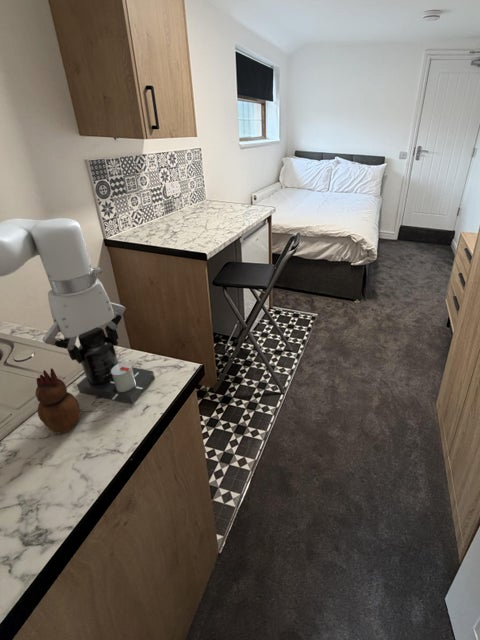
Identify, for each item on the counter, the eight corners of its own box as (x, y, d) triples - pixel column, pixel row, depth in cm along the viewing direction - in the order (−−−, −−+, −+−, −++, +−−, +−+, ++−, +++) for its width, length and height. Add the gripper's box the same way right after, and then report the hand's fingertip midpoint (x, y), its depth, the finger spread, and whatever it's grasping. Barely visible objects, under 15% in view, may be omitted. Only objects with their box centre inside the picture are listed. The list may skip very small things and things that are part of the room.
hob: (73, 398, 73) (70, 389, 72) (105, 369, 81) (103, 360, 80) (131, 411, 70) (129, 402, 69) (159, 379, 78) (157, 371, 77)
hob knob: (112, 390, 72) (106, 371, 70) (125, 377, 75) (119, 359, 73) (127, 393, 71) (121, 375, 69) (139, 380, 74) (135, 362, 72)
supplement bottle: (83, 375, 76) (68, 333, 70) (114, 361, 80) (102, 320, 75) (93, 390, 71) (78, 347, 66) (125, 374, 76) (113, 332, 71)
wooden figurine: (90, 418, 68) (69, 363, 62) (63, 442, 63) (37, 384, 57) (67, 409, 70) (44, 354, 64) (40, 430, 65) (12, 374, 59)
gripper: (109, 262, 73) (126, 327, 81) (14, 291, 61) (45, 365, 69) (125, 271, 69) (142, 338, 77) (27, 304, 57) (59, 381, 65)
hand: (96, 350), depth 73 cm, fingers closed on supplement bottle, 6 cm apart
